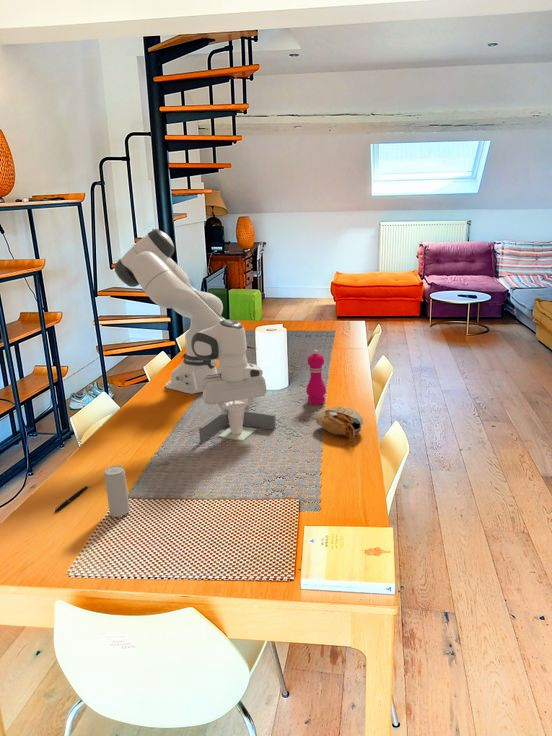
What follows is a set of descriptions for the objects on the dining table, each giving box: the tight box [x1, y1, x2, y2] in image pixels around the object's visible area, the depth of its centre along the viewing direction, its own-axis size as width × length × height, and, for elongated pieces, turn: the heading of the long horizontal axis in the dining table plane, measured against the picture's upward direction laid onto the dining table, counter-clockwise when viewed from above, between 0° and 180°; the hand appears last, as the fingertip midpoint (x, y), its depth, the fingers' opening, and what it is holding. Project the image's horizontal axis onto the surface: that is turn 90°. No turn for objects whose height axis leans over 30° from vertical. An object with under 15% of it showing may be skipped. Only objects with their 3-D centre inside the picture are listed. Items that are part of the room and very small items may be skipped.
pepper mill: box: [305, 349, 327, 406], centre depth 203 cm, size 7×7×20 cm
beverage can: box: [103, 465, 131, 518], centre depth 137 cm, size 5×5×12 cm
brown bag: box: [315, 406, 364, 447], centre depth 177 cm, size 8×22×15 cm
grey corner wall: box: [198, 409, 277, 444], centre depth 180 cm, size 18×18×5 cm
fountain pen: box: [54, 484, 91, 513], centre depth 146 cm, size 14×1×2 cm, turn 161°
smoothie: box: [225, 400, 246, 434], centre depth 179 cm, size 6×6×14 cm
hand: (236, 412), depth 179 cm, fingers closed on smoothie, 6 cm apart
